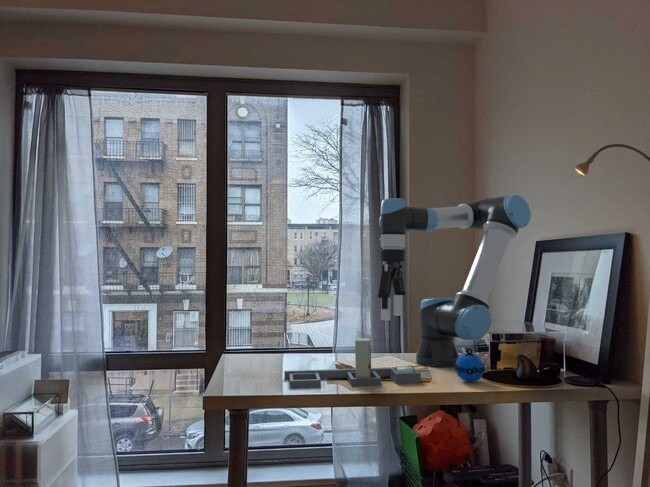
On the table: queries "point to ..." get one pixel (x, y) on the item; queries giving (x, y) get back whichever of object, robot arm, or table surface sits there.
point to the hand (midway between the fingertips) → (392, 317)
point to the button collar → (405, 376)
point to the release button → (404, 369)
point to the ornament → (469, 367)
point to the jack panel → (314, 377)
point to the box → (363, 357)
